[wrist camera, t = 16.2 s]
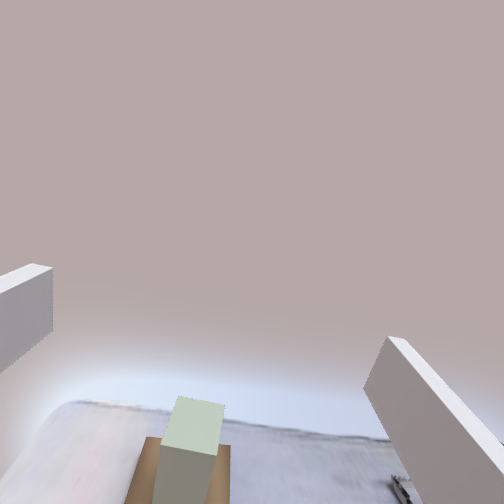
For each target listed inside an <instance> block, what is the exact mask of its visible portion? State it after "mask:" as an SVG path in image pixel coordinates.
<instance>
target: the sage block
mask: <svg viewBox="0 0 504 504" xmlns="http://www.w3.org/2000/svg"><path fill="white" fill-rule="evenodd" d="M224 409H225V405H221V404H216V403H211V402H206V401H201V400H196V399H191V398H187V397H182V396H178V398H177V401H176V404H175V406H174V409H173V412H172V414H171V417H170V420H169V422H168V425H167V428H166V430H165V433H164V436H163V438H162V441H161V444H160V449H159V456H158V463H157V471H156V478H155V485H154V492H153V499H152V504H205V502H206V498H207V493H208V489H209V485H210V481H211V477H212V473H213V469H214V465H215V461H216V457H217V451H218V445H219V439H220V433H221V427H222V421H223V415H224Z"/></svg>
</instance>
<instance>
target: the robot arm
mask: <svg viewBox="0 0 504 504" xmlns="http://www.w3.org/2000/svg"><path fill="white" fill-rule="evenodd" d="M52 331H53V268H51V267H47V266H41V265H37V264H32V263H31V264H29V265H26V266H24V267H22V268H19V269H17V270H15V271H12V272H10V273H7V274H5V275H3V276H0V373H1V372H3V371H4V370H5V369H6V368H8V367H9V366H10V365H11V364H13V363H14V362H15V361H16V360H18V359H19V358H20V357H21V356H22V355H24V354H25V353H26V352H27V351H29V350H30V349H31V348H32V347H34V346H35V345H36V344H37V343H39V342H40V341H41V340H42V339H43V338H45V337H46V336H47V335H48V334H50V333H51V332H52ZM363 389H364V391H365V393H366V395H367V397H368V398H369V400H370V402H371V404H372V406H373V408H374V410H375V412H376V414H377V416H378V418H379V420H380V421H381V423H382V425H383V427H384V429H385V431H386V433H387V435H388V436H389V439H390V441H391V442H392V444H393V446H394V448H395V450H396V452H397V454H398V456H399V458H400V460H401V462H402V463H403V465H404V467H405V469H406V471H407V473H408V475H409V477H410V479H411V481H412V483H413V484H414V486H415V488H416V490H417V492H418V494H419V496H420V498H421V500H422V502H423V504H504V444H502V443H501V442H500V441H499V440H498V439H497V438H496V437H495V436H494V435H493V434H492V433H491V432H490V431H489V430H488V429H487V428H486V427H485V425H484V424H483V423H482V422H481V421H480V420H479V419H478V418H477V417H476V416H475V415H474V414H473V412H472V411H470V409H469V408H468V407H467V406H466V405H465V404H464V403H463V402H462V401H461V400H460V398H459V397H458V396H457V395H456V394H455V393H454V392H453V391H452V390H451V389H450V388H449V387H448V385H447V384H446V383H445V382H444V381H443V380H442V379H441V378H440V377H439V376H438V375H437V374H436V372H435V371H434V370H433V369H432V368H431V367H430V366H429V365H428V364H427V363H426V362H425V361H424V360H423V359H422V357H421V356H420V355H419V354H418V353H417V352H416V351H415V350H414V349H413V348H412V347H411V346H410V344H409V343H408V342H407V341H406V340H405V339H401V338H396V337H391V336H387V337H386V339H385V342H384V344H383V346H382V348H381V350H380V353H379V355H378V357H377V359H376V362H375V364H374V366H373V368H372V370H371V372H370V375H369V377H368V379H367V382H366V384H365V386H364V388H363Z"/></svg>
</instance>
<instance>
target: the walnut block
mask: <svg viewBox="0 0 504 504" xmlns="http://www.w3.org/2000/svg"><path fill="white" fill-rule="evenodd" d="M161 441H162V438H154V437H146V440H145V443H144V446H143V449H142V452H141V455H140V458H139V461H138V464H137V467H136V470H135V473H134V476H133V479H132V482H131V485H130V488H129V491H128V494H127V497H126V500H125V503H124V504H152V499H153V492H154V485H155V478H156V471H157V463H158V456H159V449H160V444H161ZM230 447H231V445H221V444H219V445H218V451H217V457H216V461H215V465H214V469H213V473H212V477H211V481H210V485H209V489H208V493H207V498H206V502H205V504H229V500H230Z"/></svg>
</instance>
